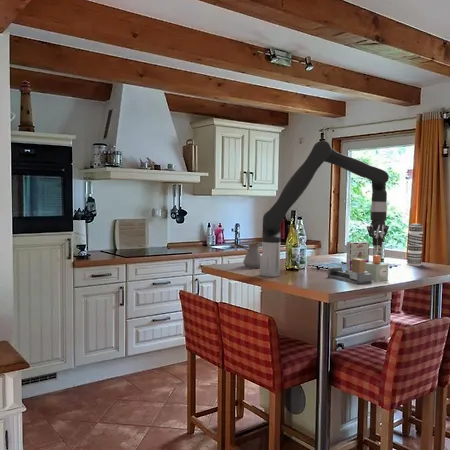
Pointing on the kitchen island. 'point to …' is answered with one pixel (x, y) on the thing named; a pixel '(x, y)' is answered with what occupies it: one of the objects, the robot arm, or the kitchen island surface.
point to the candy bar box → (356, 253)
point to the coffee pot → (251, 256)
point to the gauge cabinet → (377, 271)
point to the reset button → (376, 259)
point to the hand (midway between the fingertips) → (377, 245)
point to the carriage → (357, 268)
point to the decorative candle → (415, 245)
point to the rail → (359, 277)
